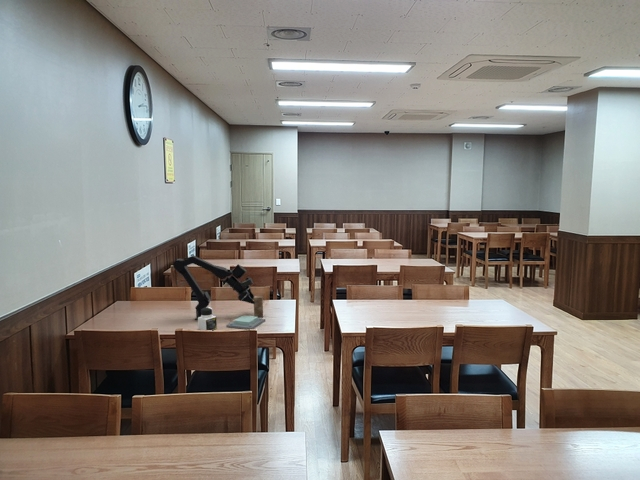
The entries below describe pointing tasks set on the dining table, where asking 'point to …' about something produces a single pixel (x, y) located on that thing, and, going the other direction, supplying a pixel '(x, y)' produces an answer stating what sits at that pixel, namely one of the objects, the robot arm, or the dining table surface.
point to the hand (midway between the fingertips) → (254, 301)
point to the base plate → (246, 322)
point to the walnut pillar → (258, 306)
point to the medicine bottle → (207, 319)
